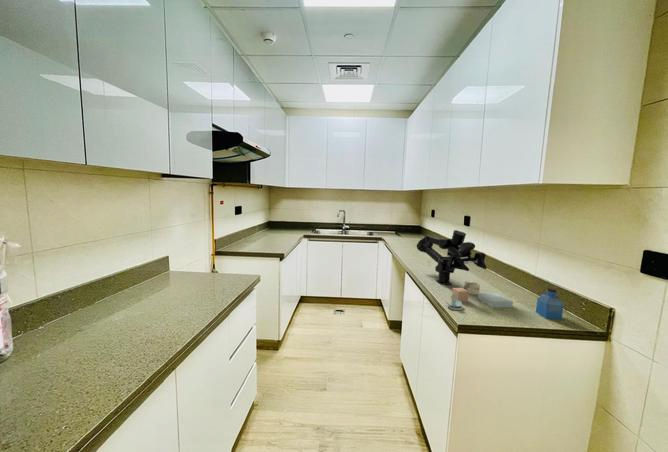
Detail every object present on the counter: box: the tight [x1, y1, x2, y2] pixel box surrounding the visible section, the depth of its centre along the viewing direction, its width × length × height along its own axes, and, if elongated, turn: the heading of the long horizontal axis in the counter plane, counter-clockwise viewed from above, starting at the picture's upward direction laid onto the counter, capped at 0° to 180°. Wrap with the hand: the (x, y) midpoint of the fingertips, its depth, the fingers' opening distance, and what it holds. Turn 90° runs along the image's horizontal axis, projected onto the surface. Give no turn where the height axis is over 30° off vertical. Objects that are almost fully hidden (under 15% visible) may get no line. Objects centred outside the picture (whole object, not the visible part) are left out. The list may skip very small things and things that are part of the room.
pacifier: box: [445, 293, 464, 311], centre depth 117 cm, size 7×6×6 cm
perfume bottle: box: [535, 286, 565, 321], centre depth 112 cm, size 6×6×12 cm
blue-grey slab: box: [477, 292, 514, 308], centre depth 125 cm, size 10×10×3 cm
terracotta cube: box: [451, 287, 469, 303], centre depth 127 cm, size 5×5×5 cm
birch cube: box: [463, 281, 481, 295], centre depth 137 cm, size 5×5×5 cm
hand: (477, 269), depth 125 cm, fingers open, 9 cm apart
